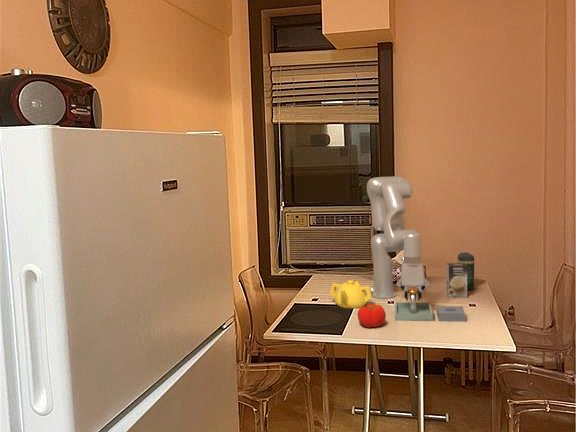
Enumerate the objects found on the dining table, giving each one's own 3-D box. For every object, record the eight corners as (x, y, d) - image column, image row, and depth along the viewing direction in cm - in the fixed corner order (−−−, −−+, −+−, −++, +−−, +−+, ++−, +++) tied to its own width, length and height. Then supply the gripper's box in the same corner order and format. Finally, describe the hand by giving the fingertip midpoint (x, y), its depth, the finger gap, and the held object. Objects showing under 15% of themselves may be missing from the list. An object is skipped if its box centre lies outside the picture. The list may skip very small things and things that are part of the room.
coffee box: (448, 297, 298) (448, 265, 296) (446, 294, 304) (446, 263, 302) (467, 297, 297) (467, 265, 295) (465, 294, 303) (465, 262, 301)
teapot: (328, 302, 298) (327, 278, 296) (359, 298, 303) (359, 275, 301) (342, 311, 282) (341, 286, 280) (374, 307, 287) (374, 282, 285)
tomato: (366, 319, 268) (366, 300, 267) (391, 324, 260) (391, 304, 259) (350, 326, 258) (350, 307, 257) (375, 331, 250) (375, 311, 249)
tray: (394, 320, 264) (394, 313, 264) (395, 308, 283) (395, 302, 283) (432, 321, 262) (432, 314, 261) (430, 308, 280) (430, 302, 280)
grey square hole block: (438, 321, 261) (438, 313, 261) (437, 313, 272) (436, 306, 271) (465, 321, 259) (464, 313, 259) (462, 314, 270) (462, 306, 269)
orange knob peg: (408, 313, 270) (408, 290, 269) (407, 310, 275) (407, 288, 273) (418, 313, 270) (418, 291, 268) (417, 310, 274) (417, 288, 273)
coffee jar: (475, 290, 310) (475, 254, 308) (460, 290, 311) (459, 255, 308) (471, 285, 319) (471, 251, 317) (456, 286, 320) (456, 251, 318)
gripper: (393, 261, 267) (393, 302, 269) (432, 261, 264) (432, 302, 266) (393, 258, 274) (393, 297, 277) (431, 258, 271) (431, 298, 274)
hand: (412, 299), depth 271 cm, fingers open, 4 cm apart
